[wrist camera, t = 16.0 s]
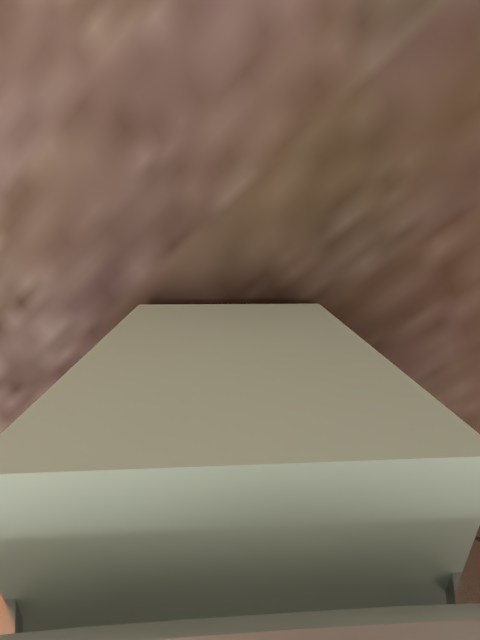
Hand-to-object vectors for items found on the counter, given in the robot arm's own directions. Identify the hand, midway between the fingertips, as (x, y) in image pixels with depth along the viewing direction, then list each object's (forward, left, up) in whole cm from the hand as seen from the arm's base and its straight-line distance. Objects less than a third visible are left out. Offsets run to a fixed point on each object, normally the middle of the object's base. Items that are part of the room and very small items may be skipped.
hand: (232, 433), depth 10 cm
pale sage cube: (0, 0, -3) cm, 3 cm away
